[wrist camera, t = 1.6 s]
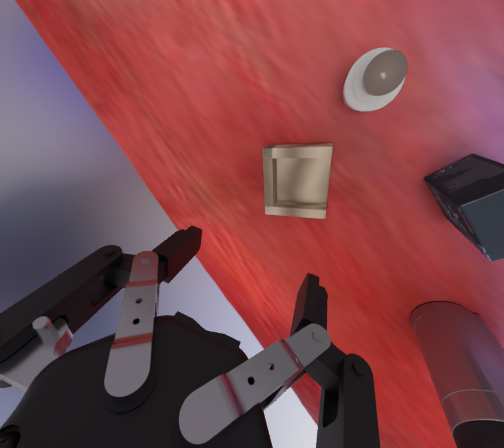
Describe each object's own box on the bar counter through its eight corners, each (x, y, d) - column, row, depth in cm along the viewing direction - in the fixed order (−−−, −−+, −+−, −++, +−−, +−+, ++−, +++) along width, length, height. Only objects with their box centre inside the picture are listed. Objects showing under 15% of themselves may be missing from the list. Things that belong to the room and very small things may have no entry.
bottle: (389, 62, 25) (437, 21, 14) (380, 109, 27) (414, 108, 16) (344, 68, 27) (353, 36, 15) (339, 112, 29) (344, 113, 17)
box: (421, 177, 29) (459, 206, 21) (473, 152, 26) (542, 173, 18) (446, 220, 31) (491, 263, 22) (497, 200, 28) (573, 242, 19)
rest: (332, 143, 31) (332, 146, 28) (325, 210, 36) (325, 219, 33) (268, 145, 34) (262, 148, 31) (270, 206, 39) (265, 214, 36)
